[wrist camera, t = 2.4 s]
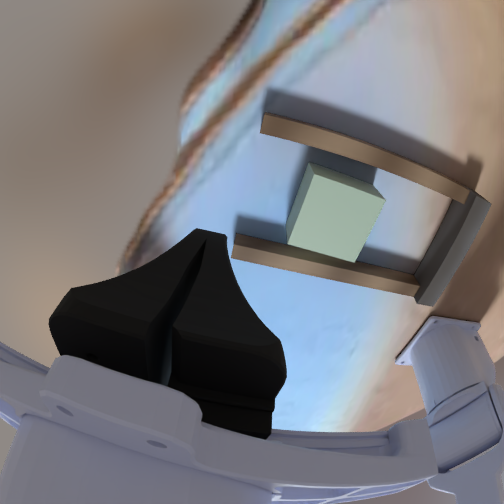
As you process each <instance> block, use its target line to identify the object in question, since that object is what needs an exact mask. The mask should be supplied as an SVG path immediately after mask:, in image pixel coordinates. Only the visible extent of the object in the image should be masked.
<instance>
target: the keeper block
mask: <svg viewBox="0 0 504 504" xmlns="http://www.w3.org/2000/svg"><path fill="white" fill-rule="evenodd" d="M385 201H386V200H385V198H384V197H383V196H382V195H381V194H380V193H379V191H378V190H377V189H376V188H375V187H374V186H373V185H371V184H369V183H366V182H364V181H361V180H359V179H356V178H353V177H351V176H348V175H345V174H342V173H340V172H337V171H334V170H331V169H328V168H326V167H323V166H320V165H317V164H314V163H311V162H308V165H307V168H306V171H305V173H304V176H303V179H302V182H301V185H300V187H299V190H298V193H297V195H296V198H295V201H294V204H293V206H292V209H291V212H290V214H289V217H288V220H287V222H286V233H287V244H289V245H293V246H296V247H300V248H304V249H307V250H311V251H315V252H318V253H322V254H325V255H329V256H332V257H336V258H339V259H343V260H346V261H350V262H354V263H355V261H356V259H357V257H358V255H359V253H360V251H361V249H362V247H363V246H364V244H365V242H366V240H367V238H368V236H369V234H370V232H371V230H372V228H373V226H374V224H375V222H376V220H377V218H378V216H379V214H380V212H381V210H382V207H383V205H384V203H385Z"/></svg>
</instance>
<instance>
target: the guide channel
mask: <svg viewBox="0 0 504 504" xmlns="http://www.w3.org/2000/svg"><path fill="white" fill-rule="evenodd" d="M260 133H262V134H266V135H270V136H274V137H278V138H282V139H286V140H290V141H294V142H298V143H301V144H305V145H308V146H312V147H315V148H319V149H322V150H326V151H329V152H332V153H335V154H339V155H342V156H345V157H348V158H351V159H354V160H357V161H360V162H363V163H366V164H369V165H371V166H374V167H377V168H380V169H382V170H385V171H388V172H390V173H393V174H396V175H398V176H401V177H403V178H406V179H408V180H411V181H413V182H416V183H418V184H420V185H423V186H425V187H427V188H430V189H432V190H434V191H437V192H439V193H441V194H443V195H445V196H448V197H450V198H452V199H453V201H452V203H451V205H450V207H449V209H448V212H447V214H446V216H445V218H444V220H443V222H442V224H441V226H440V228H439V230H438V232H437V234H436V236H435V238H434V240H433V242H432V244H431V246H430V247H429V249H428V251H427V253H426V255H425V257H424V258H423V260H422V262H421V264H420V266H419V267H418V269H417V271H416V272H415V274H414V275H412V274H408V273H404V272H400V271H396V270H391V269H387V268H383V267H379V266H375V265H371V264H367V263H363V262H358V261H355V263H354V262H350V261H346V260H343V259H339V258H336V257H332V256H329V255H325V254H322V253H318V252H315V251H311V250H307V249H303V248H299V247H295V246H290V245H286V244H282V243H277V242H273V241H268V240H264V239H260V238H255V237H251V236H246V235H242V234H237V233H236V237H235V242H234V246H233V251H232V255H231V258H233V259H238V260H242V261H247V262H251V263H256V264H260V265H265V266H270V267H274V268H279V269H283V270H288V271H293V272H297V273H302V274H307V275H311V276H316V277H321V278H325V279H330V280H335V281H340V282H344V283H349V284H354V285H359V286H364V287H368V288H373V289H378V290H383V291H388V292H393V293H398V294H402V295H407V296H412V297H414V298H415V301H416V303H417V304H422V305H427V306H432V307H433V306H434V304H435V303H436V301H437V300H438V299H439V297H440V296H441V294H442V293H443V291H444V290H445V288H446V286H447V285H448V283H449V282H450V280H451V279H452V277H453V275H454V274H455V272H456V270H457V269H458V267H459V265H460V264H461V262H462V260H463V259H464V257H465V255H466V253H467V252H468V250H469V248H470V246H471V244H472V242H473V241H474V239H475V237H476V235H477V233H478V231H479V229H480V227H481V225H482V223H483V221H484V219H485V217H486V215H487V213H488V211H489V208H490V206H491V203H490V202H488V201H487V200H486V199H484V198H483V197H482V196H481V195H479V194H478V193H477V192H475V191H474V190H472V189H470V188H468V187H466V186H464V185H462V184H461V183H459V182H457V181H455V180H453V179H451V178H449V177H447V176H445V175H443V174H441V173H439V172H437V171H435V170H432V169H430V168H428V167H426V166H424V165H422V164H419V163H417V162H415V161H413V160H410V159H408V158H406V157H403V156H401V155H398V154H396V153H394V152H391V151H389V150H386V149H384V148H381V147H378V146H376V145H373V144H370V143H368V142H365V141H362V140H359V139H357V138H354V137H351V136H348V135H345V134H342V133H339V132H336V131H333V130H330V129H326V128H323V127H320V126H316V125H313V124H310V123H306V122H303V121H299V120H295V119H291V118H288V117H284V116H280V115H276V114H272V113H267V112H265V114H264V118H263V122H262V126H261V130H260Z"/></svg>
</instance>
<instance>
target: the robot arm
mask: <svg viewBox="0 0 504 504" xmlns="http://www.w3.org/2000/svg"><path fill="white" fill-rule="evenodd" d="M480 327H481V324H480V323H477V322H471V321H464V320H457V319H451V318H444V317H438V316H431V317H430V318H429V319H428V320H427V321H426V323H425V324H424V325H423V327H422V328H421V329H420V331H419V332H418V333H417V334H416V336H415V337H414V338H413V340H412V341H411V342H410V343H409V344H408V346H407V347H406V348H405V349H404V351H403V352H402V353H401V354H400V355H399V357H398V358H397V359H396V360H395V364H397V365H412V366H413V369H414V372H415V375H416V378H417V382H418V385H419V388H420V391H421V395H422V398H423V402H424V405H425V409H426V412H427V416H426V417H425V418H423V419H416V420H406V421H402V422H399V423H397V424H395V425H394V426H392V427H391V428H390V429H389V430H388V431H376V432H306V431H291V430H279V429H272V412H273V411H274V408H275V398H276V396H277V395H278V393H279V391H280V390H281V388H282V387H283V385H284V383H285V380H286V378H287V370H286V362H285V356H284V352H283V348H282V344H281V341H280V339H279V338H278V337H277V336H275V335H274V334H273V333H272V332H271V331H270V330H269V329H268V328H267V327H266V326H265V325H264V324H263V322H262V321H261V320H260V319H259V318H258V316H257V315H256V313H255V312H254V310H253V309H252V308H251V306H250V305H249V303H248V302H247V300H246V298H245V297H244V295H243V293H242V291H241V289H240V287H239V285H238V283H237V280H236V278H235V275H234V272H233V270H232V267H231V263H230V259H229V255H228V250H227V236H226V235H225V234H220V233H216V232H211V231H207V230H202V229H198V228H196V229H195V230H193V231H192V232H191V233H190V234H188V235H187V236H186V237H185V238H184V239H182V240H181V241H180V242H179V243H177V244H176V245H175V246H173V247H172V248H171V249H169V250H168V251H166V252H165V253H163V254H162V255H160V256H159V257H157V258H156V259H154V260H152V261H151V262H149V263H147V264H145V265H143V266H141V267H139V268H137V269H135V270H132V271H130V272H128V273H125V274H123V275H120V276H118V277H115V278H112V279H109V280H106V281H102V282H98V283H94V284H90V285H85V286H80V287H75V288H71V289H70V291H69V292H68V293H67V294H66V295H65V296H64V298H63V299H62V300H61V302H60V304H59V305H58V306H57V308H56V309H55V311H54V312H53V314H52V315H51V317H50V318H49V328H50V331H51V335H52V337H53V339H54V342H55V344H56V346H57V349H58V351H59V353H60V355H61V356H60V357H58V358H56V359H55V360H54V362H53V364H52V366H51V368H49V367H46V366H44V365H42V364H40V363H38V362H36V361H34V360H32V359H30V358H28V357H27V356H24V355H23V354H21V353H19V352H17V351H15V350H14V349H12V348H10V347H8V346H6V345H5V344H3V343H1V342H0V418H2V419H3V420H4V421H5V422H7V423H8V424H10V425H11V426H13V427H14V428H15V429H17V432H16V435H15V437H14V440H13V442H12V445H11V447H10V450H9V452H8V455H7V458H6V460H5V464H4V466H3V469H2V472H1V475H0V504H334V503H342V502H350V501H356V500H362V499H368V498H374V497H379V496H384V495H389V494H394V493H397V492H400V491H402V490H405V489H408V488H410V487H412V486H415V485H417V484H419V483H421V482H424V481H426V480H427V481H428V484H429V486H430V487H431V488H433V489H435V490H438V491H442V492H446V493H451V494H454V495H455V498H456V504H504V490H503V485H502V480H501V473H502V471H503V470H504V391H503V389H502V387H501V386H500V385H499V384H495V377H496V372H495V366H494V363H493V361H492V359H491V357H490V355H489V353H488V351H487V349H486V347H485V345H484V343H483V341H482V339H481V337H480V336H479V334H478V332H477V331H478V330H479V328H480ZM497 443H498V445H497V446H496V447H494V448H493V449H492V450H491V451H489V452H487V453H486V454H484V455H482V456H480V457H478V458H476V459H475V460H473V461H471V462H469V463H467V464H465V465H463V466H461V467H459V468H457V469H455V470H453V471H450V470H449V469H451V468H453V467H455V466H457V465H459V464H461V463H463V462H465V461H467V460H469V459H471V458H473V457H475V456H477V455H478V454H480V453H482V452H484V451H485V450H487V449H489V448H491V447H492V446H494V445H496V444H497Z"/></svg>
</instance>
